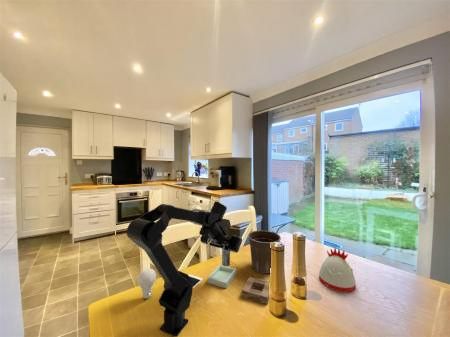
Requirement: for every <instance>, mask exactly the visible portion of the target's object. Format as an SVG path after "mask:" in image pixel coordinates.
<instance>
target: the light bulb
mask: <svg viewBox="0 0 450 337" xmlns="http://www.w3.org/2000/svg"><path fill="white" fill-rule="evenodd" d="M156 273H157V272H155V270H153V269H152V268H145V269H143V270H141V271H140V272H139V274H138V277H137V284H138V286H139V287H140V288H141V293H142V298H143V299H149V298H151V296H152V290H153V289H152V288H153V286H154V284H155V282H156V280H157V274H156Z"/></svg>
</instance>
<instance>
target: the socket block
mask: <svg viewBox="0 0 450 337" xmlns="http://www.w3.org/2000/svg"><path fill="white" fill-rule="evenodd" d="M269 282H270V281H267V280H264V279H260V278H255V277H251V276H249V277H248V279H247V281H246V282H245V284H244V285H243V288H242V289H241V297H242V298H246V299H249V300H251V301H255V302H259V303H263V304H266V305H268V304H269V301H270V298H269Z"/></svg>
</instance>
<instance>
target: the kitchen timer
mask: <svg viewBox="0 0 450 337" xmlns="http://www.w3.org/2000/svg"><path fill="white" fill-rule="evenodd" d="M326 253H327V255H328V256H327V257H326V258H325V259H324V260H323V262H322V263H321V266H320V269H319V273H318V278H319V281H320V282H321V283H322V284H323V285H324V284H325V285H324V286H326V287H328V288H329V287H330V289H332V288H333V289H332V290H334V289H335V291H338V290H339V291H338V292H344V291H345V292H346V291H350V292H353V291H355V290H356V279H355V275H354V272H353V270H354V269H353V268H352V267H351V265H350V264H349V262H348V261H347V260H346V259H347V258H348V256H349V253H347V254H345V249H344V250H343V251H342V252H341V249H340V248H338V250H337V248H336V247H334V249H332V248H330V252H329V251H328V250H327V251H326ZM352 290H353V291H352ZM345 292H344V293H345ZM346 293H347V292H346Z"/></svg>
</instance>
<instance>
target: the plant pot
mask: <svg viewBox="0 0 450 337" xmlns="http://www.w3.org/2000/svg"><path fill="white" fill-rule="evenodd" d="M247 238H248V241H249V247H250V258H251V259H250V260H251V267H252V269H253V270H254V271H255V272H257V273H259V274H264V275H266V274H271V273H270V268H271V248H270V243H271V242H281V240H282V237H281V235H280V234H278V233H277V232H274V231H269V230H254V231H251V232H249V233H247Z"/></svg>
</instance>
